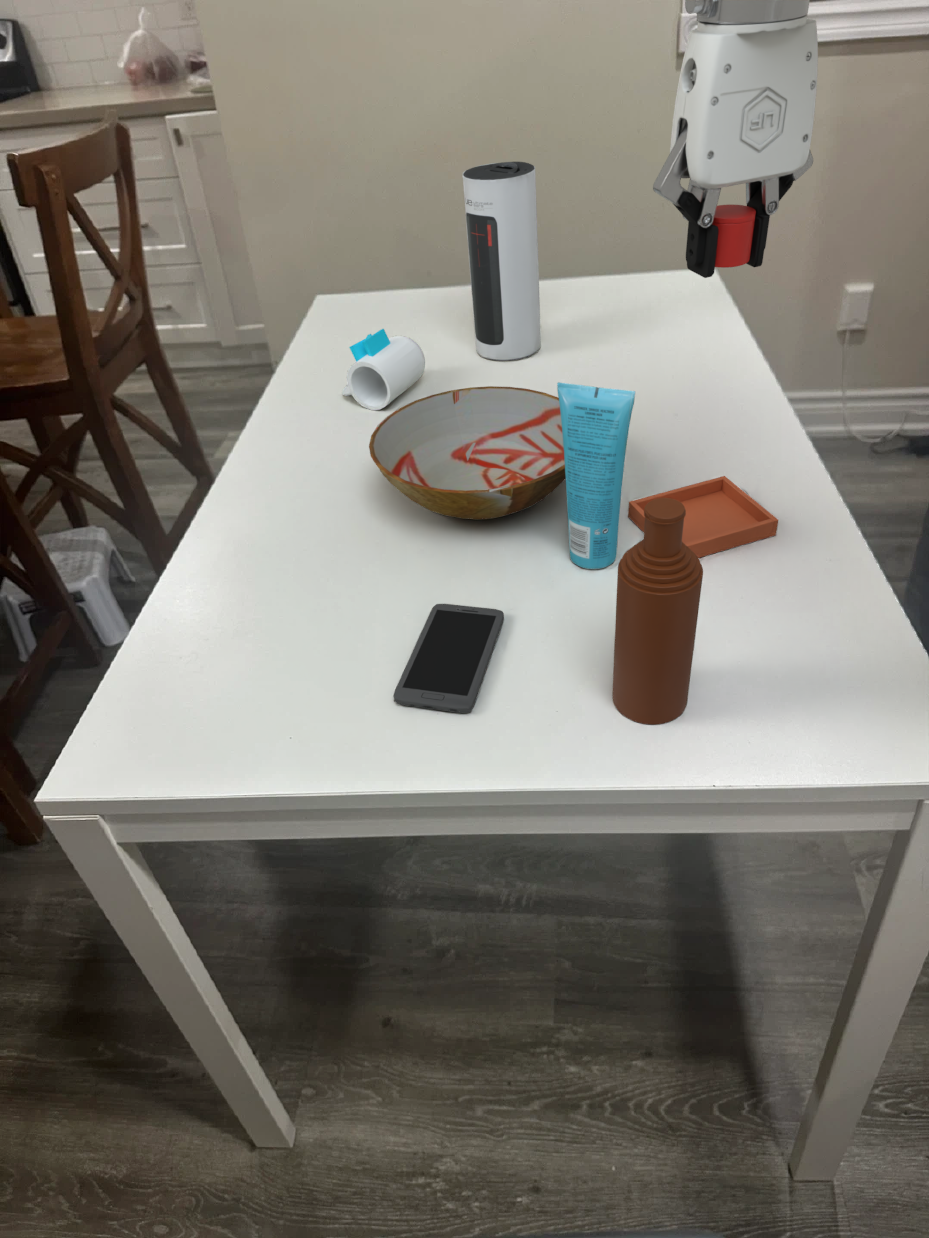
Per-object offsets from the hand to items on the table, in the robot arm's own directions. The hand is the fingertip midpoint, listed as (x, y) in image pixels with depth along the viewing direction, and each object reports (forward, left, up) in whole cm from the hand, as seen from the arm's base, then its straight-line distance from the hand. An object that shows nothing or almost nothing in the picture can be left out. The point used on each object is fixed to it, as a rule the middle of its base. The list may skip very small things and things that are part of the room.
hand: (724, 265), depth 73 cm
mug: (+19, -55, -29) cm, 65 cm away
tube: (+10, -4, -29) cm, 31 cm away
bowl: (+16, -21, -29) cm, 39 cm away
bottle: (+15, +17, -29) cm, 37 cm away
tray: (-3, -4, -29) cm, 30 cm away
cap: (0, 0, 0) cm, 0 cm away
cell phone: (+29, +5, -29) cm, 42 cm away
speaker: (-3, -60, -29) cm, 67 cm away
